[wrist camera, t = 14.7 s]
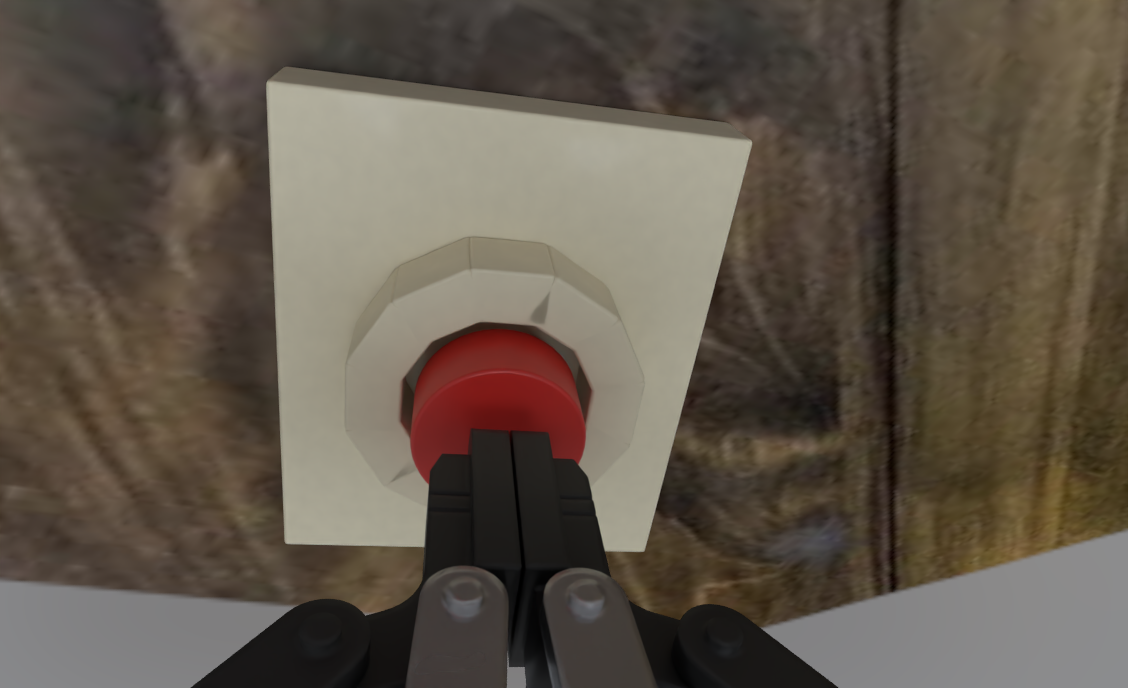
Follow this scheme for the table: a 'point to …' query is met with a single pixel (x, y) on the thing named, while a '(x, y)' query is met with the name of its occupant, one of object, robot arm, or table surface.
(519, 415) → the button
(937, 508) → the table surface
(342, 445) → the control block
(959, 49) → the table surface
